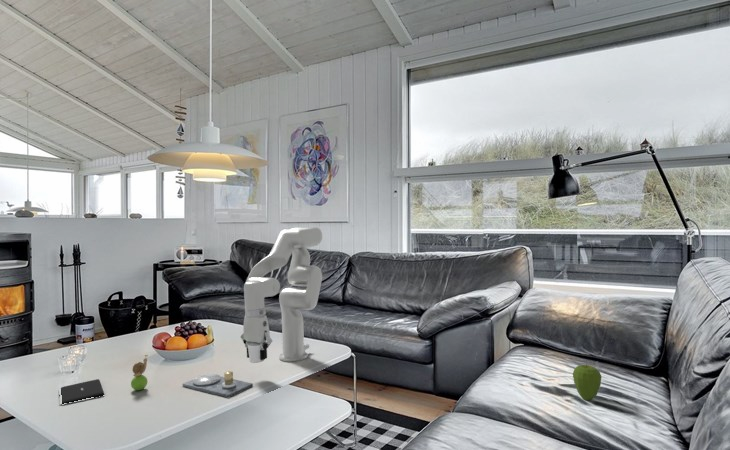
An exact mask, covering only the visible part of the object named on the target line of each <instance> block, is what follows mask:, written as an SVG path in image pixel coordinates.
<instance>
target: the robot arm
mask: <svg viewBox="0 0 730 450" xmlns="http://www.w3.org/2000/svg"><path fill="white" fill-rule="evenodd" d="M322 240H323V231H322V230H321V229H320V228H319V227H316V226H308V227H307V226H298V227H292V228H289V229H283V230H281V231H280V232H279V233H278V235H277V238H276V240H275V242H274V244H273V246H272V247H271V250H270V252H269V254H268V255H267V256H265V257H264V258H262V259H261V260H260V261H259V262H257V263H256V264H255V265H254V266H253V267H252V268H251V270H250V272H249V274H248V276H247V277H246V279H245V283H244V284H243V296H244V298H243V299H244V317H243V318H244V319H243V330H242V331H243V333H242V334H241V335H240V339H241V340H242V342H243V344H244V347H245V348H246V358H247V359H248V358H249V352H248V345H247V344H248V343H249V342H256V343H259V345H260V347H261V350H260V360H264V359H265V360H267V358H268V348H269V347H270V345H271V344H272V342H273V339H272V338H271V335H270V325H269V320H268V317H267V315H266V314H267V310H266V307H265V305H266V304H265V298H268V297H274V296H276V295H278V293H279V292H280V293H279V295H278V296H279V297H278V302H279V306H280V310H281V331H282V332H281V334H282V335H281V337H282V339H281V340H282V343H281V344H282V353H281V354H279V356H278V358H279V360H280V361H282V362H300V361H303V360H305V359H307V358H308V353H307V352H306V350H308V349H310V347H311V346H310V344H308V343H307V344H304V343H305V342H304V341H305V340H304V337H305V336H304V334H305V333H304V317H303V316H304V315H303V314H302V312H301V310H302V311H303V310H305V311H310V310H311V311H312V310H314V309H315V307H316V306H317V304H318V301H319V295H320V292H321V291H320V290H321V286H322V281H323V274H322V270H321V268H320V267H319V266H317V265H310V261H311V255H310V253H309V250H308V249H307V248H311V247H316V246H319V244H320V243H321V242H322ZM290 257H291V261H290V264H289V265H290V266H289V269H288V274H287V281H288V283H289V284H290V285H291V286H292V287H285V288H283V289H282V290H281V283H280V281H279V280H278V279H276V278H275V277H265V275H267V274H268V273H271V272H272V271H275V270H277V269H280V268H283V267H285V266H286V265H287V264H288V262H289V260H290ZM293 286H295V287H293ZM296 286H297V287H296ZM280 290H281V291H280ZM263 343H264V346H263ZM265 360H264V361H265Z"/></svg>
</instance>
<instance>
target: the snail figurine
mask: <svg viewBox="0 0 730 450" xmlns="http://www.w3.org/2000/svg"><path fill="white" fill-rule="evenodd" d="M147 363H148V355H147V354H145V355H144V358H143V362H142V361H137V362H135V363H134V365H133V366H132V373H133V375H132V376H133V378H132V379H131V382H130V387H131V389H133V390H134V391H142V390H143V389H146V387H147V385H148V378H147V377H146V375H143V374H144V373H145V372H146V369H147Z"/></svg>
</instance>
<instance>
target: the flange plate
mask: <svg viewBox="0 0 730 450" xmlns="http://www.w3.org/2000/svg"><path fill="white" fill-rule="evenodd" d="M223 373H224V376H220V375H219V374H217V373H207V374H201V375H197V376H195V377H193V378H192V379H191V380H187V381H186V382H184V383H182V387H184V388H188V389H191V390H195V391H199V392H203V393H208V394H212V395H216V396H220V397H224V398H228V399H229V398H231V397H232V396H235V395H238V394H239V393H241V392H243V391H246V390H248V389H249V388H252V387H253V386H254V383H251V382H247V381H243V380H238V379H234V371H225V372H223Z"/></svg>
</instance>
